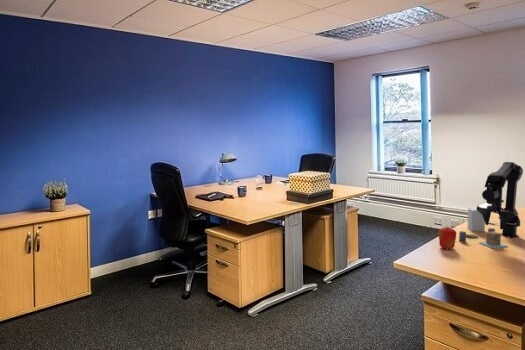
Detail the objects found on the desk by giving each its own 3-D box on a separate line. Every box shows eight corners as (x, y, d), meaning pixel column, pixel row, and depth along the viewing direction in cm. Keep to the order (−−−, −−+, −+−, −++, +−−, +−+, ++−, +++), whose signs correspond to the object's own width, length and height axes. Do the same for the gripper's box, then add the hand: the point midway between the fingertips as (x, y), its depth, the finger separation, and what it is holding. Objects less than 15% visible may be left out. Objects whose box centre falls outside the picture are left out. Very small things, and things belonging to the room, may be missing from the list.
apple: (438, 245, 201) (438, 223, 200) (455, 246, 198) (456, 224, 196) (438, 249, 193) (438, 227, 192) (456, 251, 190) (457, 229, 188)
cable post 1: (462, 239, 209) (463, 231, 208) (467, 241, 206) (467, 232, 205) (457, 240, 208) (458, 231, 207) (462, 242, 205) (462, 233, 204)
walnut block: (493, 242, 201) (493, 231, 200) (500, 244, 197) (500, 233, 196) (486, 243, 200) (486, 232, 199) (493, 245, 196) (493, 234, 195)
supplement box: (484, 231, 223) (485, 210, 222) (471, 231, 225) (472, 210, 223) (480, 228, 230) (481, 208, 229) (467, 227, 232) (467, 207, 230)
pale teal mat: (493, 241, 204) (493, 240, 204) (507, 246, 195) (507, 245, 195) (479, 243, 202) (479, 242, 202) (493, 248, 193) (493, 247, 193)
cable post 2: (491, 236, 213) (491, 228, 212) (495, 238, 210) (496, 229, 209) (486, 237, 212) (486, 228, 212) (491, 238, 209) (491, 229, 209)
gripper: (468, 196, 202) (467, 224, 204) (497, 202, 184) (496, 233, 186) (485, 194, 205) (484, 222, 207) (516, 200, 187) (514, 231, 189)
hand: (493, 227), depth 197 cm, fingers open, 9 cm apart
